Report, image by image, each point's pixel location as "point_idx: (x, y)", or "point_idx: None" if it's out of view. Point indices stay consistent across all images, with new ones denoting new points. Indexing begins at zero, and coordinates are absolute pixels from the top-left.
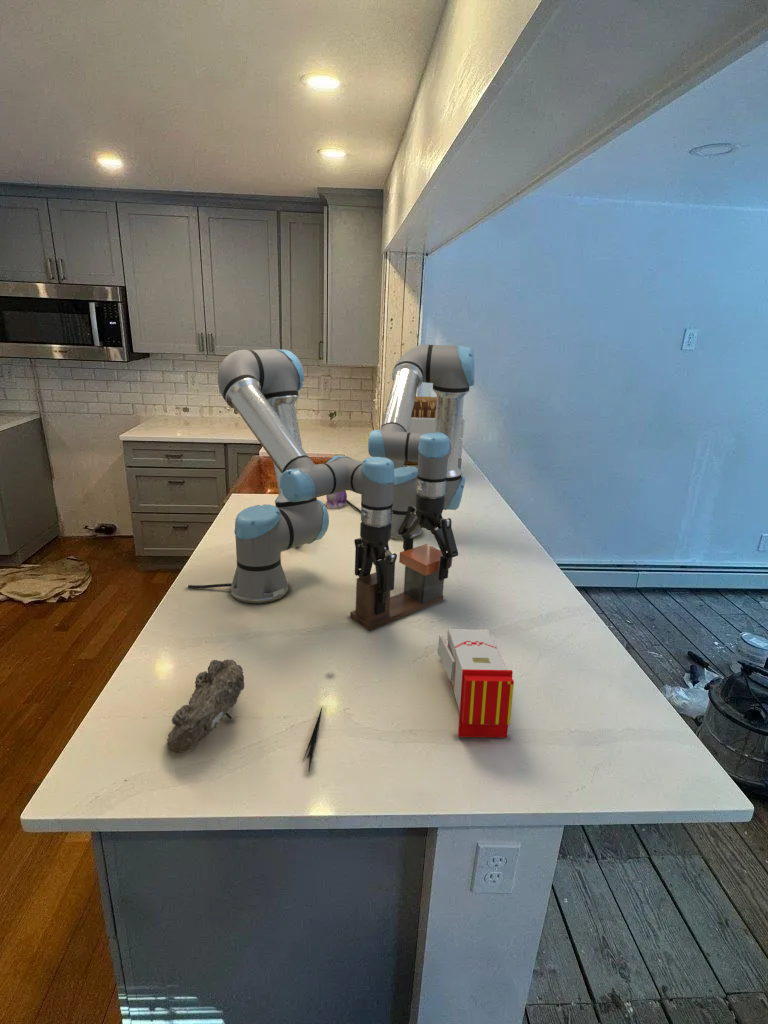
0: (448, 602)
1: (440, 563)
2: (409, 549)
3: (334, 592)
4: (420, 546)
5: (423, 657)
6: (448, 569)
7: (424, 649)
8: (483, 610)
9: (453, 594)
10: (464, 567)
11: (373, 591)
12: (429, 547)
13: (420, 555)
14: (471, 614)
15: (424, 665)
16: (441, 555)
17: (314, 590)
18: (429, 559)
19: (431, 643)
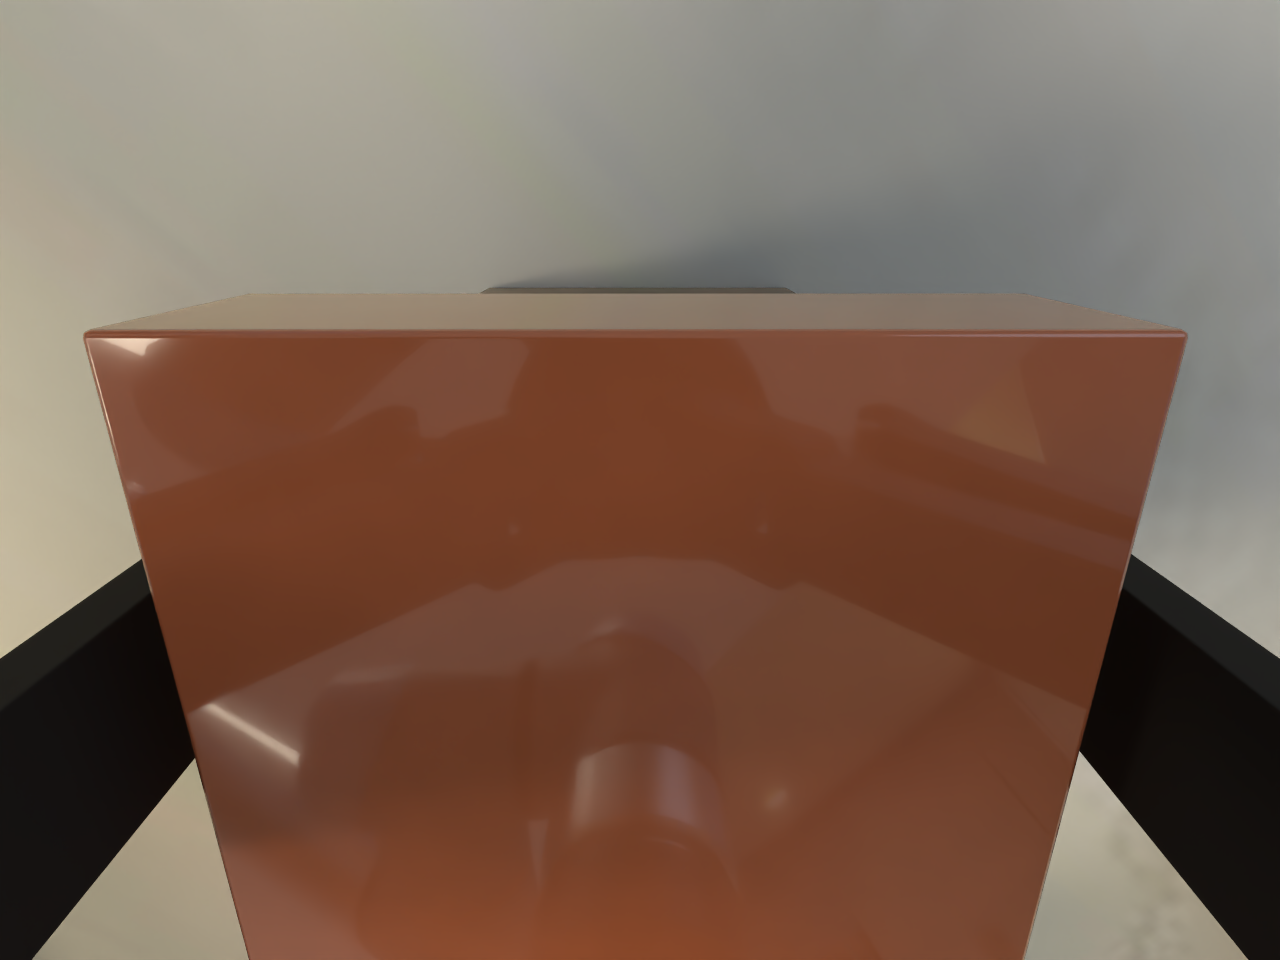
0: (845, 270)
1: (1202, 881)
2: (238, 877)
3: (170, 878)
4: (185, 589)
5: (1161, 914)
6: (1173, 584)
7: (1119, 866)
8: (1214, 83)
9: (767, 78)
10: None
11: None
12: (355, 444)
13: (616, 892)
14: (1150, 263)
15: (1209, 951)
16: (935, 551)
17: (84, 950)
18: (882, 885)
19: (1117, 800)
